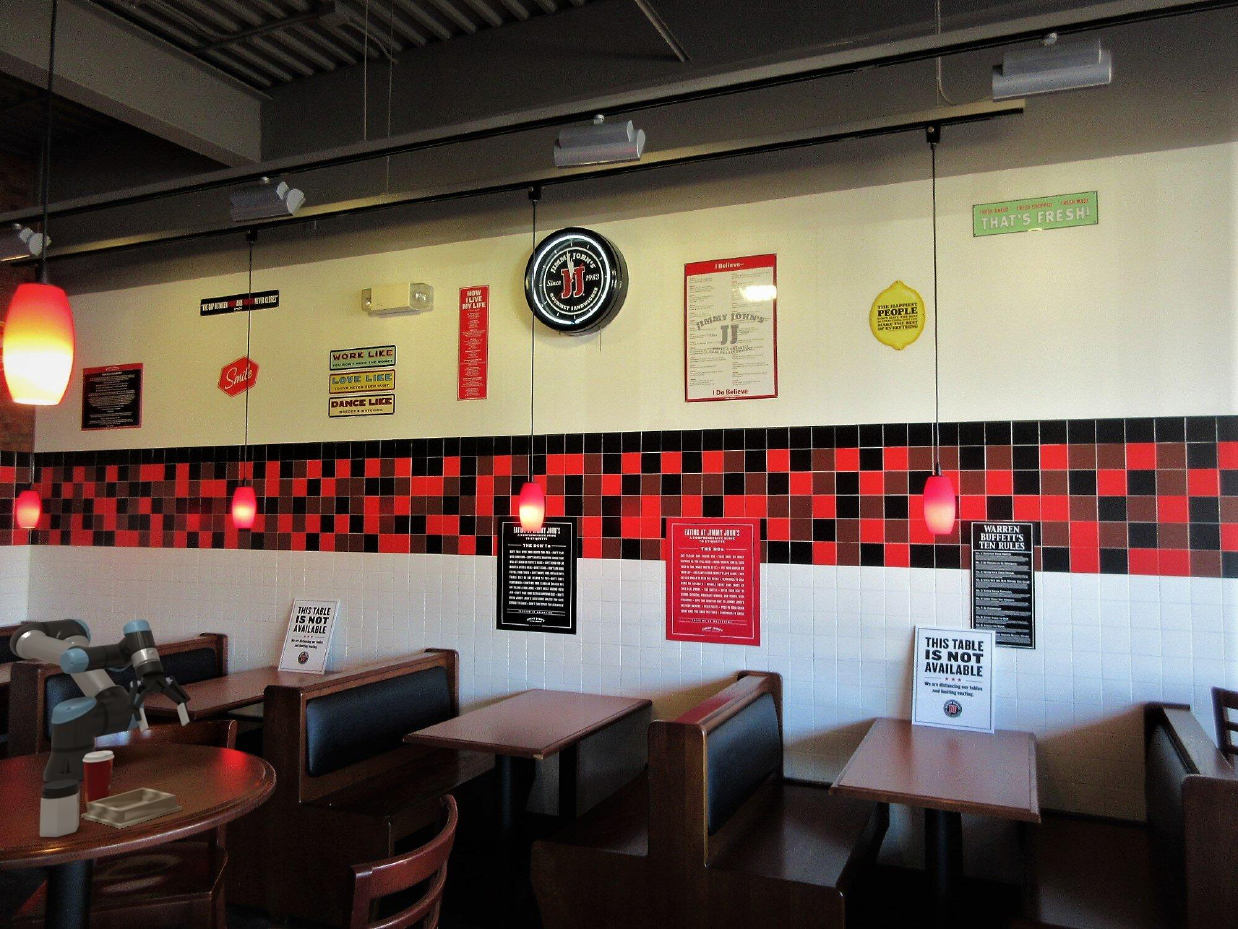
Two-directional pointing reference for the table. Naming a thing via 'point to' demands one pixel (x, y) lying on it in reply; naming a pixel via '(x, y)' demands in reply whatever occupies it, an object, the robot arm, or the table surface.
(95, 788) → the paper cup
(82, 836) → the table surface
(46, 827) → the jar
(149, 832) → the table surface
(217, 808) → the table surface
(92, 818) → the cup tray
